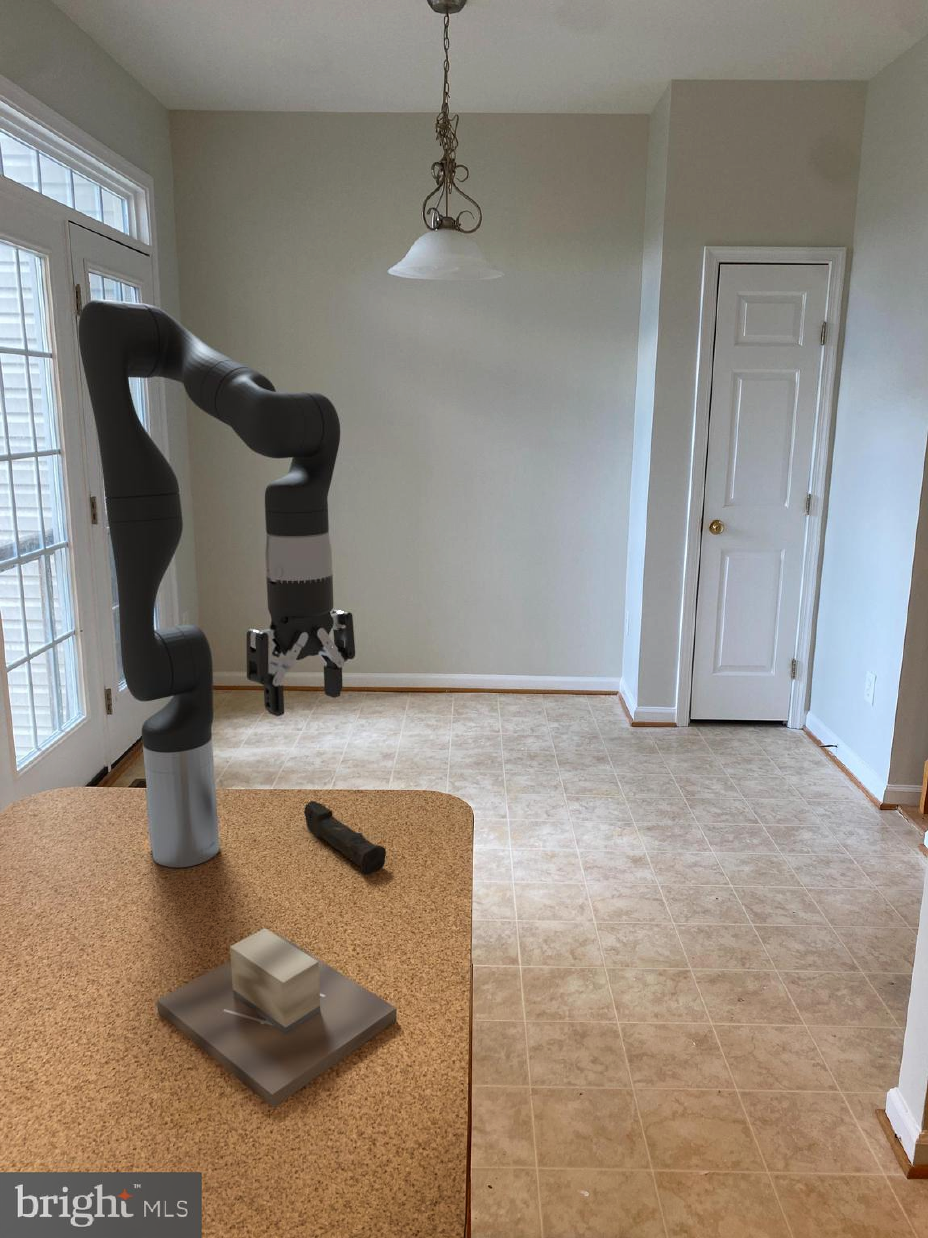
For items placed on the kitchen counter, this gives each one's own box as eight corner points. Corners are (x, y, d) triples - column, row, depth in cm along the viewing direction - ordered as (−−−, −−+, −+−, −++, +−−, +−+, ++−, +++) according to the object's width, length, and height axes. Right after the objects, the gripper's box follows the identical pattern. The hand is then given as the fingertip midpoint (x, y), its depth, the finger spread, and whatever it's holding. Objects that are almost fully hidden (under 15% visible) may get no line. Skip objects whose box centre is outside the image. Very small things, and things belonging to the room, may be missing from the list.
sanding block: (233, 996, 96) (229, 946, 95) (267, 976, 99) (264, 928, 98) (285, 1034, 90) (283, 982, 89) (320, 1012, 94) (318, 961, 92)
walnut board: (157, 1012, 96) (156, 1000, 95) (279, 945, 107) (278, 934, 107) (273, 1108, 83) (272, 1094, 83) (396, 1020, 95) (396, 1008, 94)
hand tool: (388, 870, 125) (387, 840, 124) (363, 879, 122) (362, 848, 121) (323, 820, 139) (321, 793, 138) (299, 827, 137) (298, 799, 136)
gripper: (325, 559, 110) (330, 684, 114) (227, 576, 100) (236, 713, 104) (367, 566, 106) (370, 697, 110) (268, 585, 95) (276, 729, 99)
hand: (305, 704), depth 107 cm, fingers open, 8 cm apart
